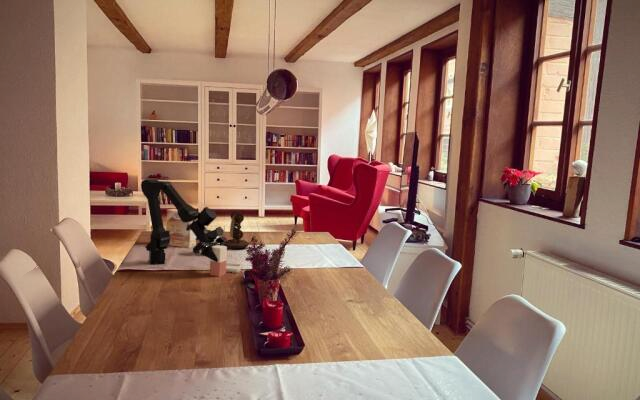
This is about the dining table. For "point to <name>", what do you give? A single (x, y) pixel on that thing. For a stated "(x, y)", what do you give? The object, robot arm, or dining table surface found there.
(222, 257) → the two tone block
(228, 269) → the white tray
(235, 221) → the dark lumpy post
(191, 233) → the coffeecake box
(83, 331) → the dining table surface
